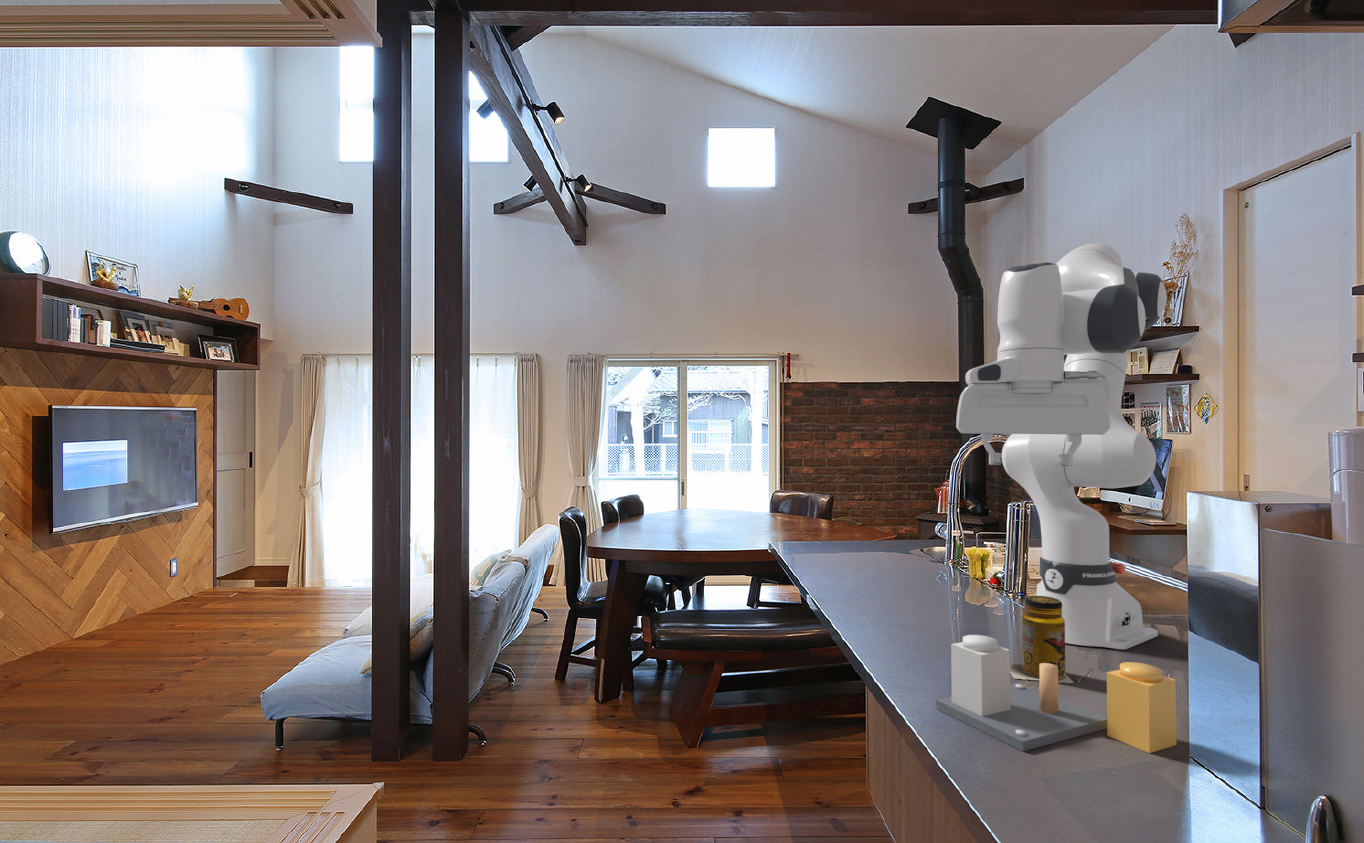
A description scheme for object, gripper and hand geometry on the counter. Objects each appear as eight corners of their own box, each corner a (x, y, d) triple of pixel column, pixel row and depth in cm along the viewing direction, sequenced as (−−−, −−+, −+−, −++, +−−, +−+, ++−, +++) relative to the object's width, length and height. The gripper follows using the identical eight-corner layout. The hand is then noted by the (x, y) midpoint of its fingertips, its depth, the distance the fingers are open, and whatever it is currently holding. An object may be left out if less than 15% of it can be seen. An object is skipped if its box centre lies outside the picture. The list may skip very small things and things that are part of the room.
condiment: (1074, 684, 105) (1073, 605, 106) (1014, 679, 107) (1013, 602, 107) (1059, 668, 113) (1058, 594, 113) (1003, 664, 114) (1002, 591, 115)
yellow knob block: (1133, 728, 90) (1133, 658, 90) (1176, 745, 85) (1175, 671, 85) (1107, 735, 88) (1106, 664, 88) (1149, 753, 83) (1148, 677, 83)
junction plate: (1018, 690, 103) (1017, 622, 103) (1110, 727, 90) (1109, 649, 90) (936, 708, 96) (935, 635, 96) (1022, 751, 83) (1021, 666, 83)
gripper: (1104, 372, 102) (1104, 466, 101) (955, 374, 108) (955, 463, 108) (1116, 368, 96) (1116, 468, 95) (958, 370, 102) (958, 464, 102)
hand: (1029, 465), depth 102 cm, fingers open, 8 cm apart
